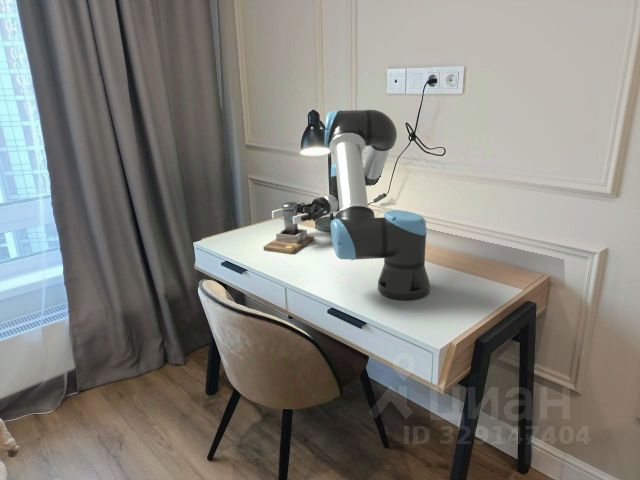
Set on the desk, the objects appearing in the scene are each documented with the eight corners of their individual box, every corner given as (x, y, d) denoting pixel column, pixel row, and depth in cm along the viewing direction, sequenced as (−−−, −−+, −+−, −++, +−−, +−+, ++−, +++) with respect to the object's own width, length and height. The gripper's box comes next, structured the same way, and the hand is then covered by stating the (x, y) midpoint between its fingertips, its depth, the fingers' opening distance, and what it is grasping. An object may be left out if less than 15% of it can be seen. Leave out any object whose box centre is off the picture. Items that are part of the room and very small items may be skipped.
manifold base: (292, 254, 173) (291, 242, 171) (263, 250, 178) (262, 238, 176) (314, 239, 188) (313, 228, 187) (287, 235, 193) (286, 225, 192)
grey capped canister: (295, 242, 181) (292, 206, 176) (281, 240, 183) (279, 205, 179) (302, 237, 186) (300, 202, 181) (288, 236, 188) (286, 201, 184)
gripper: (346, 220, 186) (304, 233, 172) (304, 210, 202) (263, 221, 188) (345, 201, 184) (304, 213, 169) (303, 192, 200) (262, 202, 185)
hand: (282, 217), depth 179 cm, fingers open, 11 cm apart
